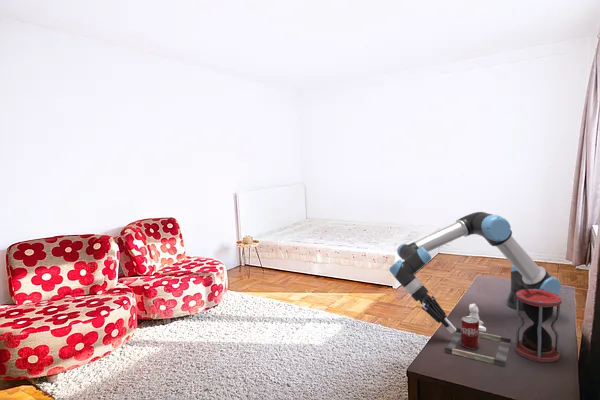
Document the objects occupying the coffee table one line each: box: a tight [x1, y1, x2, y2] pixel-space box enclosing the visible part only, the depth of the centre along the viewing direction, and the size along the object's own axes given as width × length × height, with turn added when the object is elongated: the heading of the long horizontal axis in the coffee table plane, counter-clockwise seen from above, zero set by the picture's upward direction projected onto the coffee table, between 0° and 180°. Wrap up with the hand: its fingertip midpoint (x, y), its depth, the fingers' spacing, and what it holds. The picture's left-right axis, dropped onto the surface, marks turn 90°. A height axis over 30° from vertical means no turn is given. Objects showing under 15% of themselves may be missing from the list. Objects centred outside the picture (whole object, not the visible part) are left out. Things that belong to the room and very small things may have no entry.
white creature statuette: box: [468, 303, 487, 333], centre depth 188 cm, size 10×9×12 cm
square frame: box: [444, 327, 512, 367], centre depth 170 cm, size 22×23×2 cm
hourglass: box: [514, 289, 563, 363], centre depth 163 cm, size 16×16×25 cm
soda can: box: [460, 315, 480, 350], centre depth 172 cm, size 7×7×12 cm
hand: (453, 331), depth 175 cm, fingers closed
